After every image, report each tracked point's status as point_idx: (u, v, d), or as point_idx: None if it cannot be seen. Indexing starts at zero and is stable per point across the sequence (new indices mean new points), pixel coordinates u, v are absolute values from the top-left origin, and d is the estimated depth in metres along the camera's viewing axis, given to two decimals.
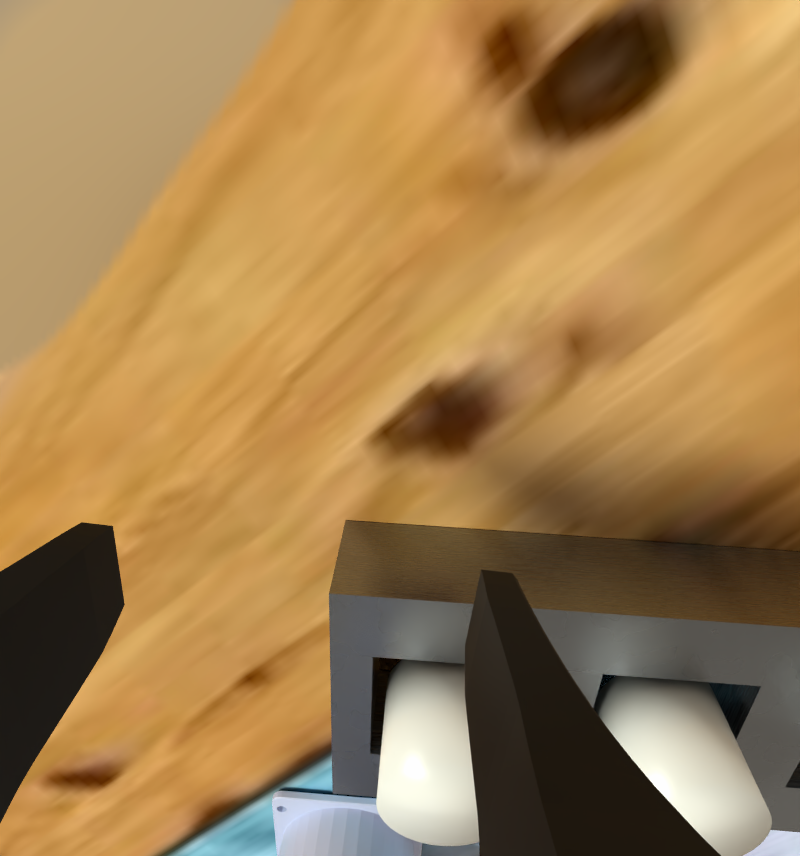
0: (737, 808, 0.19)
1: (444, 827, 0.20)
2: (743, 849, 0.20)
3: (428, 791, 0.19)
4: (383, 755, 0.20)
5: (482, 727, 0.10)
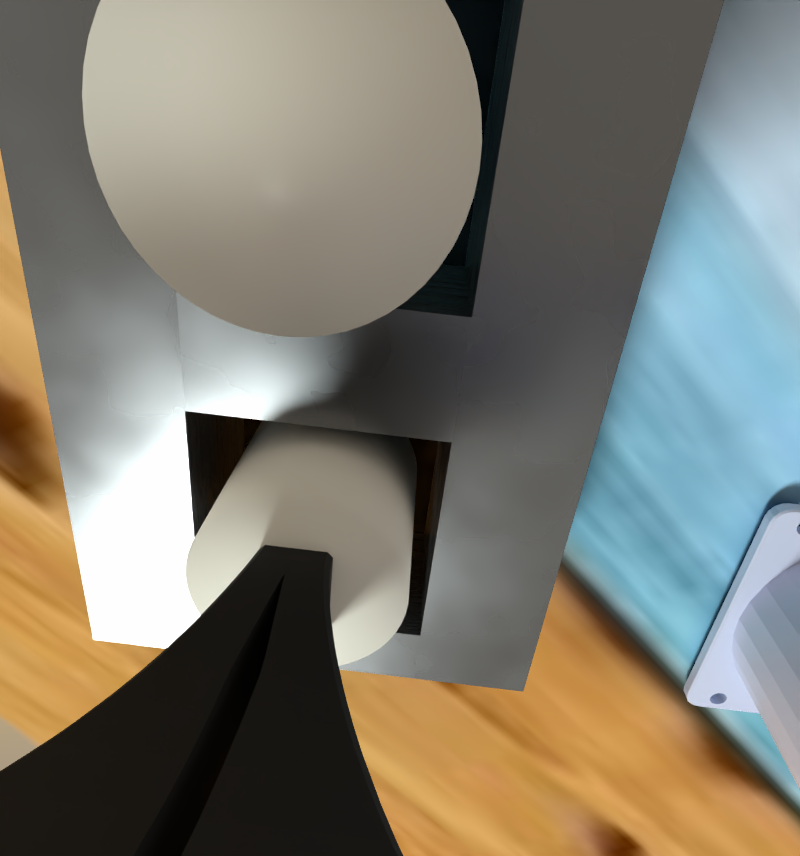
0: (166, 40, 0.06)
1: (355, 593, 0.12)
2: None
3: None
4: None
5: None
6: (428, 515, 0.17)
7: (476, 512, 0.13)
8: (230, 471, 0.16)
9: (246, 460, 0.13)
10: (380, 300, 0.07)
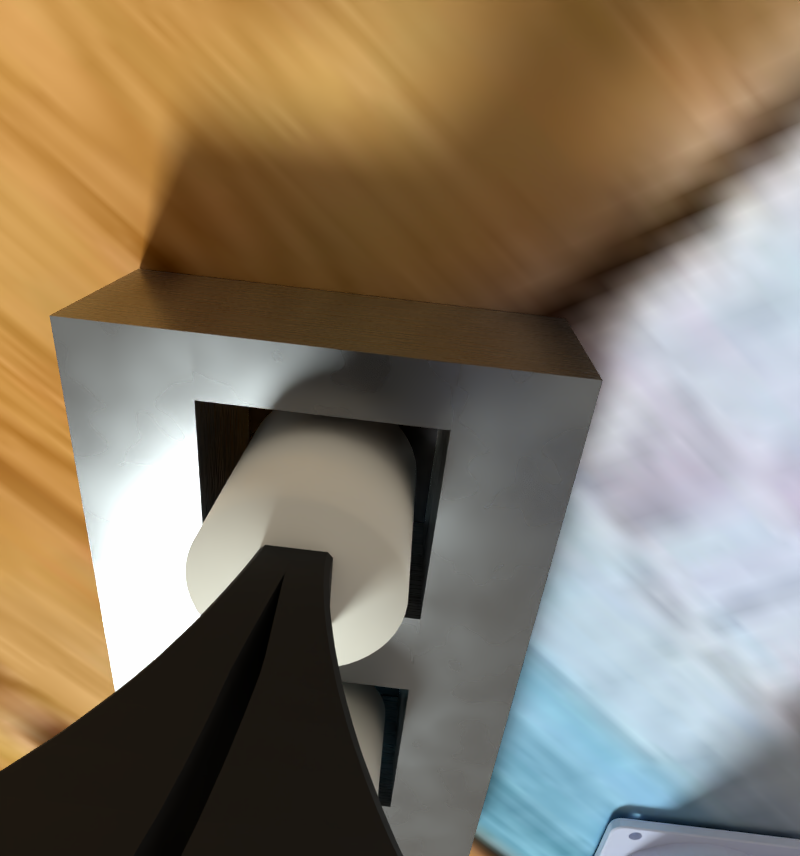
0: None
1: None
2: None
3: None
4: None
5: None
6: None
7: None
8: None
9: None
10: None
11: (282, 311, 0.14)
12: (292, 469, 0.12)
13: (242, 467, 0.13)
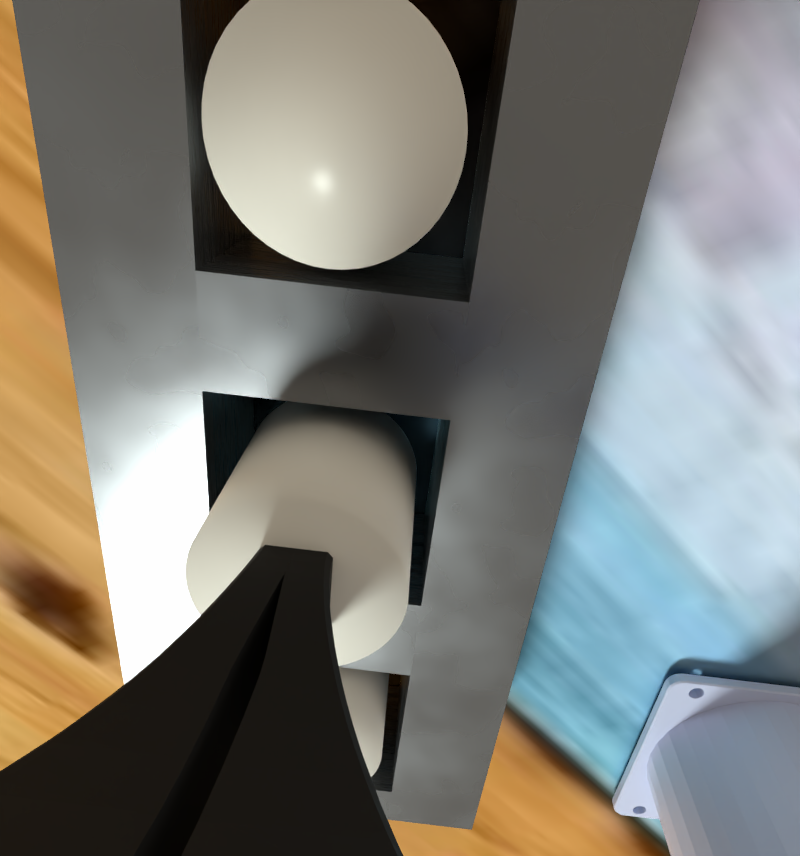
0: (234, 546, 0.11)
1: None
2: (347, 525, 0.11)
3: None
4: None
5: None
6: (401, 679, 0.22)
7: (430, 717, 0.18)
8: None
9: None
10: (354, 654, 0.13)
11: None
12: None
13: None
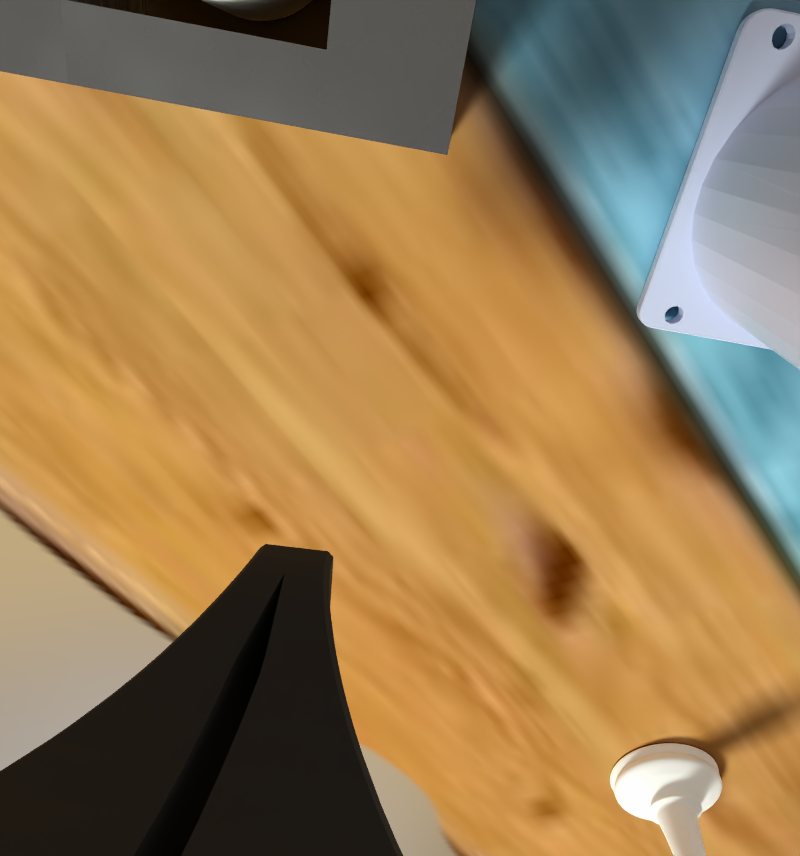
0: None
1: None
2: None
3: None
4: None
5: None
6: None
7: None
8: None
9: None
10: None
11: None
12: None
13: None
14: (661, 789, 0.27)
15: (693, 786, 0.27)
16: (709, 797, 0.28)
